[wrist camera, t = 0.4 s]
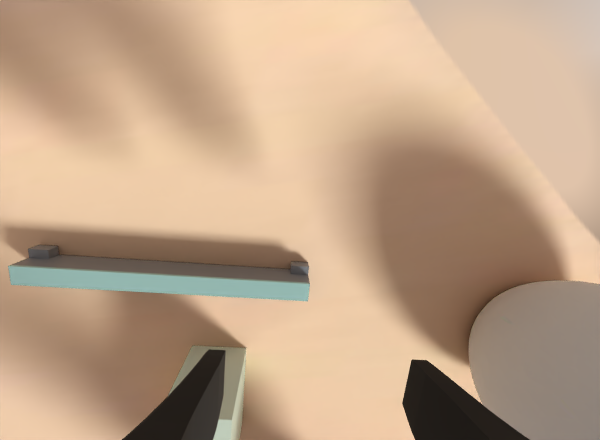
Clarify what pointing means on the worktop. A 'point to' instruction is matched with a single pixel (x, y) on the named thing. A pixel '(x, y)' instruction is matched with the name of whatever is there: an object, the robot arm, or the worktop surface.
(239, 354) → the soap box
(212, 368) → the robot arm
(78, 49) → the worktop surface
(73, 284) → the rail
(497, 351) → the decorative egg
